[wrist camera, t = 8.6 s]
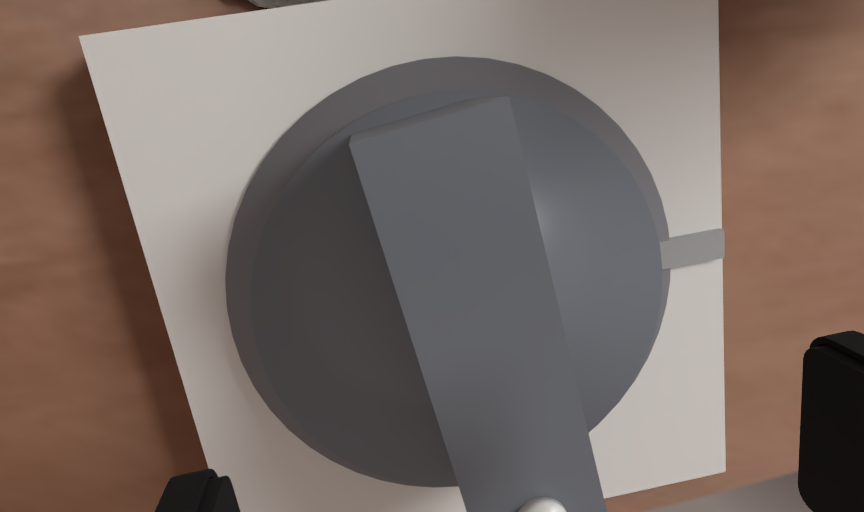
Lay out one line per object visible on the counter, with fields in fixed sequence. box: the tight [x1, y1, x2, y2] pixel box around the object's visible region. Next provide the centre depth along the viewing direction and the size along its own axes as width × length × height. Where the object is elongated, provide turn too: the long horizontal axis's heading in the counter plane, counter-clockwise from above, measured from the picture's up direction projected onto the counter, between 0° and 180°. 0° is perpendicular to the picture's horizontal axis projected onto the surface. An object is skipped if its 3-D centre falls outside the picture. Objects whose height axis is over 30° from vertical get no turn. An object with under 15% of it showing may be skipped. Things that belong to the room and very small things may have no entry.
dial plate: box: [79, 0, 726, 512], centre depth 20 cm, size 19×19×2 cm
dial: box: [251, 90, 662, 512], centre depth 16 cm, size 13×13×6 cm
